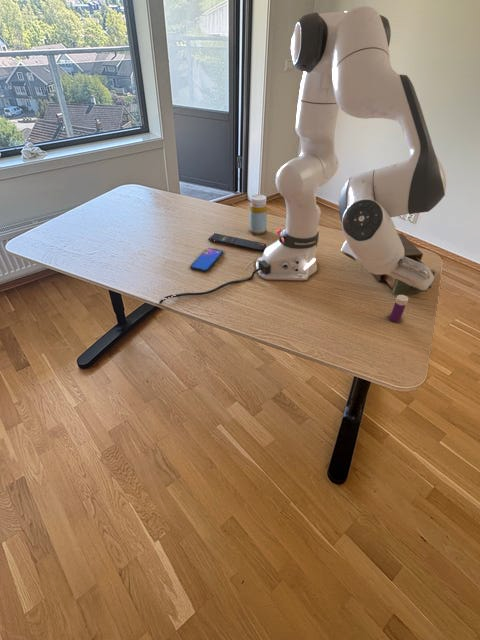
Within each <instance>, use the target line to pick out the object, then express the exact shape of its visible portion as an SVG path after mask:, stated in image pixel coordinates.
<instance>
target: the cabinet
mask: <svg viewBox="0 0 480 640" xmlns="http://www.w3.org/2000/svg"><path fill="white" fill-rule="evenodd" d="M397 234H398V235H399V237H400V240H401V242H402V245H403V247H404V256H405V257H418V258H419V259H420V260H421V261H422V258H423V256H424V253H423V252H421V250H420V249H419V248H418V247H416V246H415V245H414V244H413V242H412V241H411V240H409V239H408V238H407V237H406V236H405V234H403V233H397ZM373 276H374V277H375V278H376V279H377V281H378V282H387V281H386V280H385V279H384V277H383V274H382V275H378V274H373Z"/></svg>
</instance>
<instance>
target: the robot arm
mask: <svg viewBox="0 0 480 640" xmlns="http://www.w3.org/2000/svg"><path fill="white" fill-rule="evenodd" d="M391 32H392V31H391V25H390V21H389V19H388V17H386V16H385V15H382V14H380V13H379V12H378V10H376V8H374V7H371V6H367V5H360V6H357V7H354V8H352V9H350V10H344V11H333V12H332V11H331V12H323V13H318V12H317V11H316V12H311V13H307V14H304V15H302V16H301V17H300V18H299V19H298V21H297V22H296V24H295V26H294V30H293V34H292V37H291V42H290V53H291V59H292V63H293V65H294V67H295V69H296V70H298V71H300V72H302V73H303V74H302V78H301V81H300V88H299V94H298V100H297V101H298V102H297V110H296V119H295V126H294V127H295V128H294V129H295V133H296V135H297V136H298V137H299V141H300V154H299V155H298V156H296V157H294V158H292V159H290V160H288V161H287V162H286V163H285V164H283V165H282V166H281V167H280V168H279V170H278V171H277V172H276V174H275V181H274V182H275V187H276V189H277V192H278V193H279V194H280V196H282V197H283V198H284V202H285V209H286V216H285V228H284V229H283V230H282V228H280V227H278V228H276V230H275V234H276V235H277V236H278V239H277V240H276V241H274V242H272V243H271V244H269V245H268V246H266V248H265V250H264V251H262V252H263V253H262V256H259V257H258V258H257V259H256V261H255V270H254V271H253V272H252V273H251V276H249V277H247V278H244V279H240V280H232V281H228V282H225V283H222V284H221V285H219V286H217V287H215V288H213V289H210V290H207V291H202V292H183V293H177V294H175V295H176V296H173V295H174V294H169V295H167V296H164V297H163V298H167V299H170V298H178V297H184V296H201V295H203V296H204V295H207V294H211V293H213V292H216V291H219V290H220V289H223V288H224V287H226V286H229V285H231V284H238V283H243V282H246V281H250V280H252V279H253V278H254V276H255V274H258V276H260V278H262V279H264V280H274V281H276V280H277V281H278V280H279V281H302V282H303V281H306V280H308V279H309V278H310V276H312V275H313V274H315V273H316V272H317V270H318V264H317V247H318V243H319V239H320V238H319V237H320V234H319V233H320V232H319V227H320V219H321V213H322V211H321V208H320V206H319V205H318V204H317V199H316V198H317V197H316V196H317V191H318V190H319V188H321V187H323V186H324V185H326V184H327V183H329V182H330V181H331V180H332V179H333V178H334V176H335V175H336V173H337V172H338V169H339V159H338V157H337V154H336V153H335V152H336V150H335V133H336V126H337V120H338V116H339V115H338V114H339V109H340V110H341V111H342V112H344V113H345V114H346V115H348V116H351V117H354V118H358V119H383V120H385V119H386V120H392V121H395V122H397V123H398V124H399V125H400V128H401V131H402V134H403V138H404V141H405V144H406V148H407V151H408V157H407V158H405V160H402V161H399V162H396V163H393V164H390V165H386V166H383V167H379V168H376V169H371V170H368V171H364V172H362V173H358V174H355V175H353V176H350V177H349V178H348V179H347V180H346V182H345V183H344V184H343V187H342V189H341V191H340V193H339V195H338V196H339V198H338V212H339V218H340V221H341V228H342V232H343V236H344V239H345V241H343V244H342V246H341V248H340V252H341V254H342V255H345V256H346V257H348V258H350V259H352V260H353V261H355V262H356V263H358V264H359V265H360V266H361V267H363V268H364V269H365V270H366V271H367V272H369V273H370V274H373V275H374V274H378V275H382V274H387V275H389V276H391V277H393V278H396V279H398V280H400V281H402V282H404V283H406V284H408V285H410V286H413V287H415V288H418V289H420V290H427V289H428V287H429V286H430V285H431V286H432V283H433V282H434V280H435V275H434V276H433V274H432V272H431V271H430V270H431V269H430V268H429V266H428V265H426V264H425V263H424V264H425V265H426V266H425V265H424V264H422V263H419V262H417V261H414V260H412V259H410V258H407V257H405V256H404V247H403V245H402V242H401V240H400V237H399V235H398V234H399V233H398V231H397V228H396V225H395V224H394V221H393V218H395V217H401V216H404V215H408V214H409V215H414V214H420V213H421V214H422V213H429V212H431V210H433V209H435V207H436V206H437V205H438V204H439V203H440V202H441V201H442V199H443V198H445V196H446V190H447V177H446V173H445V169H444V167H443V164H442V162H441V161H440V159H439V158H438V156H437V155H436V152H435V149H434V146H433V143H432V139H431V135H430V132H429V129H428V125H427V122H426V119H425V116H424V113H423V109H422V106H421V103H420V100H419V98H418V95H417V92H416V89H415V86H414V85H413V82H412V79H410V77H409V76H408V75H407V74H399V73H397V72H396V70H395V69H394V68H393V67H392V64H391V59H390V57H391V56H390V49H389V47H390V43H391V36H392V33H391ZM428 290H429V289H428ZM171 296H173V297H171ZM168 297H170V298H168ZM165 300H166V299H164V300H162V299H160V300H159V302H158V304H162V303H163V302H164V301H165Z"/></svg>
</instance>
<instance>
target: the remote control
mask: <svg viewBox="0 0 480 640" xmlns="http://www.w3.org/2000/svg"><path fill="white" fill-rule="evenodd" d="M210 239H211V240H210ZM214 240H215V241H214ZM208 241H212V242H216V243H220V244H224V245H230V246H233V247H239V248H244V249H247V250H253V251H258V252H264V250H265V248H266V247H267V243H264V242H260V241H254V240H250V239H246V238H240V237H235V236H230V235H225V234H222V233H216V232H214V233H213V234H212V235H211V236H210V237H209V238H208Z"/></svg>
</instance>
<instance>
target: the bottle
mask: <svg viewBox="0 0 480 640" xmlns="http://www.w3.org/2000/svg"><path fill="white" fill-rule="evenodd" d="M267 216H268V208H267V196H266V195H264V194H252V195H251V197H250V207H249V232H251V234H253V235H257V236H259V235H263V234H265V233H266V232H267V219H268V218H267Z"/></svg>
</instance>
